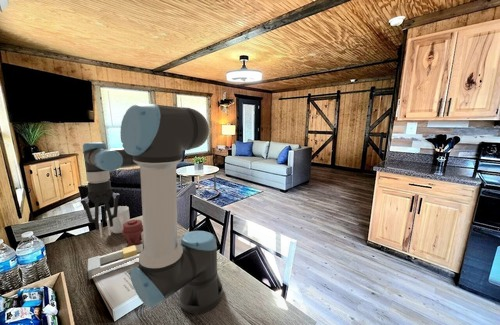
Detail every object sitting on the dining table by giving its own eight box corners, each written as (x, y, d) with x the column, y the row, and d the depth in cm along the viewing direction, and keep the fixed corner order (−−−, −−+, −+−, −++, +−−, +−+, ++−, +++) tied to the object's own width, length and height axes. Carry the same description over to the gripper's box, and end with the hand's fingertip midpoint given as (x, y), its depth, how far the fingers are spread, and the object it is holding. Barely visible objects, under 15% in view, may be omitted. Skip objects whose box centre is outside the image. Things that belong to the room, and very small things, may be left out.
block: (137, 260, 94) (136, 249, 93) (124, 264, 91) (123, 253, 90) (135, 254, 98) (134, 245, 97) (123, 258, 95) (122, 248, 94)
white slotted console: (147, 259, 94) (146, 251, 94) (89, 279, 82) (87, 270, 81) (142, 249, 102) (142, 242, 101) (89, 266, 89) (87, 258, 89)
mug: (135, 233, 118) (133, 211, 116) (112, 240, 110) (109, 217, 108) (127, 224, 128) (125, 204, 126) (106, 230, 121) (104, 209, 119)
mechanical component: (131, 238, 113) (149, 239, 112) (118, 248, 103) (137, 249, 102) (129, 216, 111) (147, 217, 110) (115, 225, 101) (135, 226, 100)
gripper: (120, 176, 91) (125, 226, 95) (74, 181, 82) (82, 237, 86) (122, 179, 85) (127, 233, 89) (73, 186, 76) (82, 245, 80)
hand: (105, 235), depth 87 cm, fingers open, 2 cm apart
